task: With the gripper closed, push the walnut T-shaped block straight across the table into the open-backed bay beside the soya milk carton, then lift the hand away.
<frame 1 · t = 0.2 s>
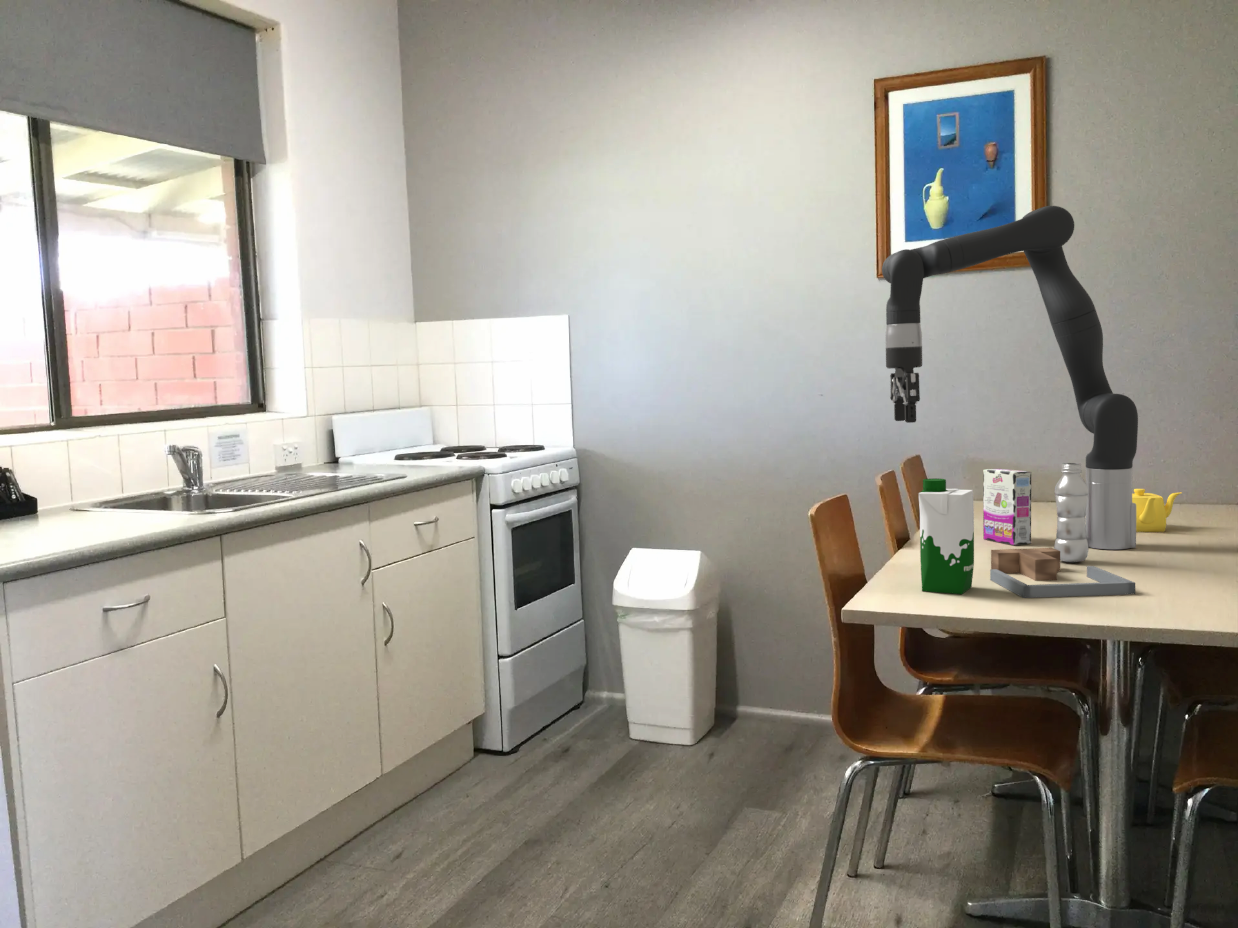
hand: (905, 421, 228), 29 cm above the table, fingers open, 8 cm apart
candy bar box: (1007, 542, 242), on the table
t block: (1033, 574, 204), on the table
plastic bottle: (1071, 562, 215), on the table
bay frame: (1057, 585, 193), on the table
soya milk: (947, 590, 193), on the table
teapot: (1138, 529, 254), on the table
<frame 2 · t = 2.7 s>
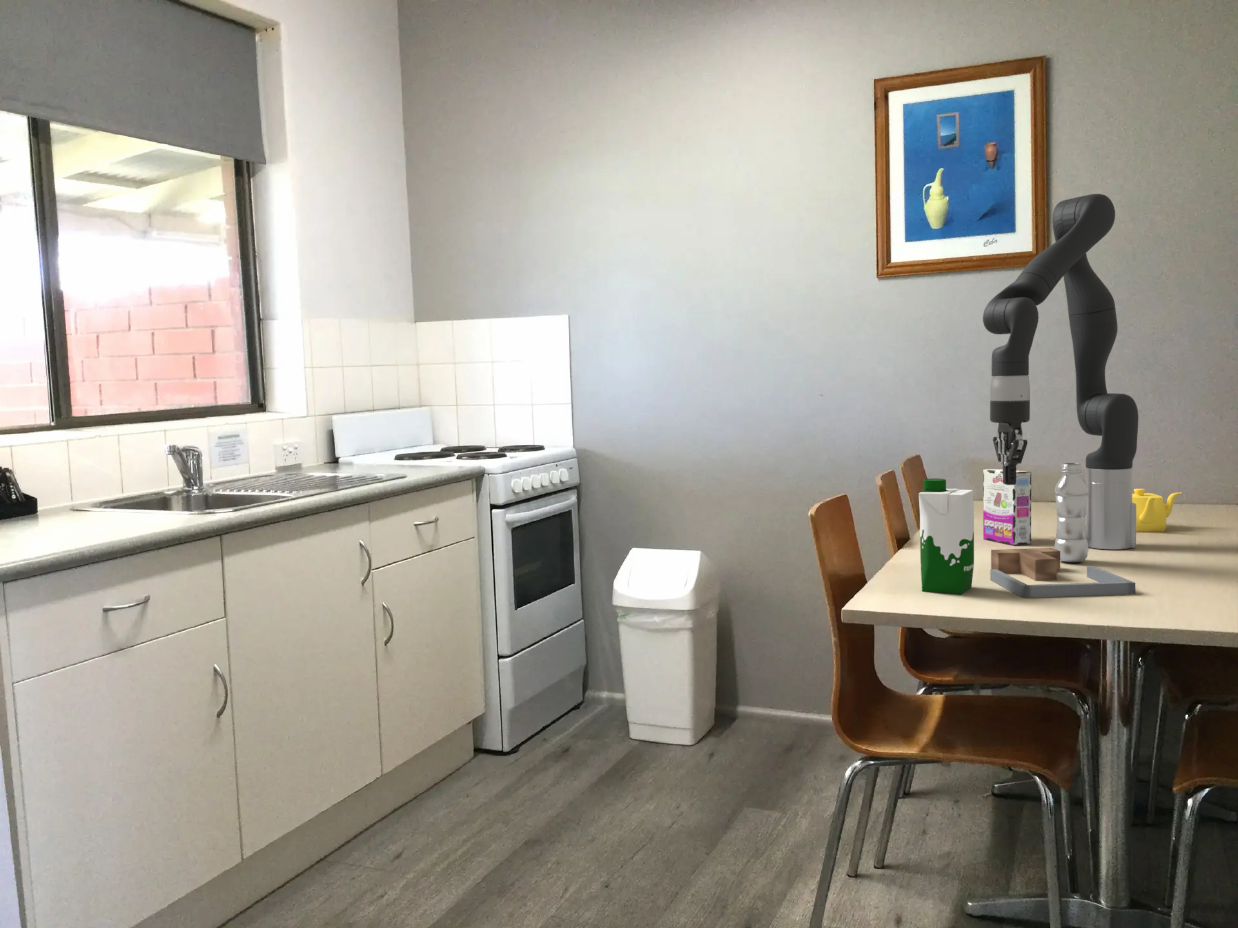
hand: (1009, 484, 214), 16 cm above the table, fingers closed
nothing on the table moved.
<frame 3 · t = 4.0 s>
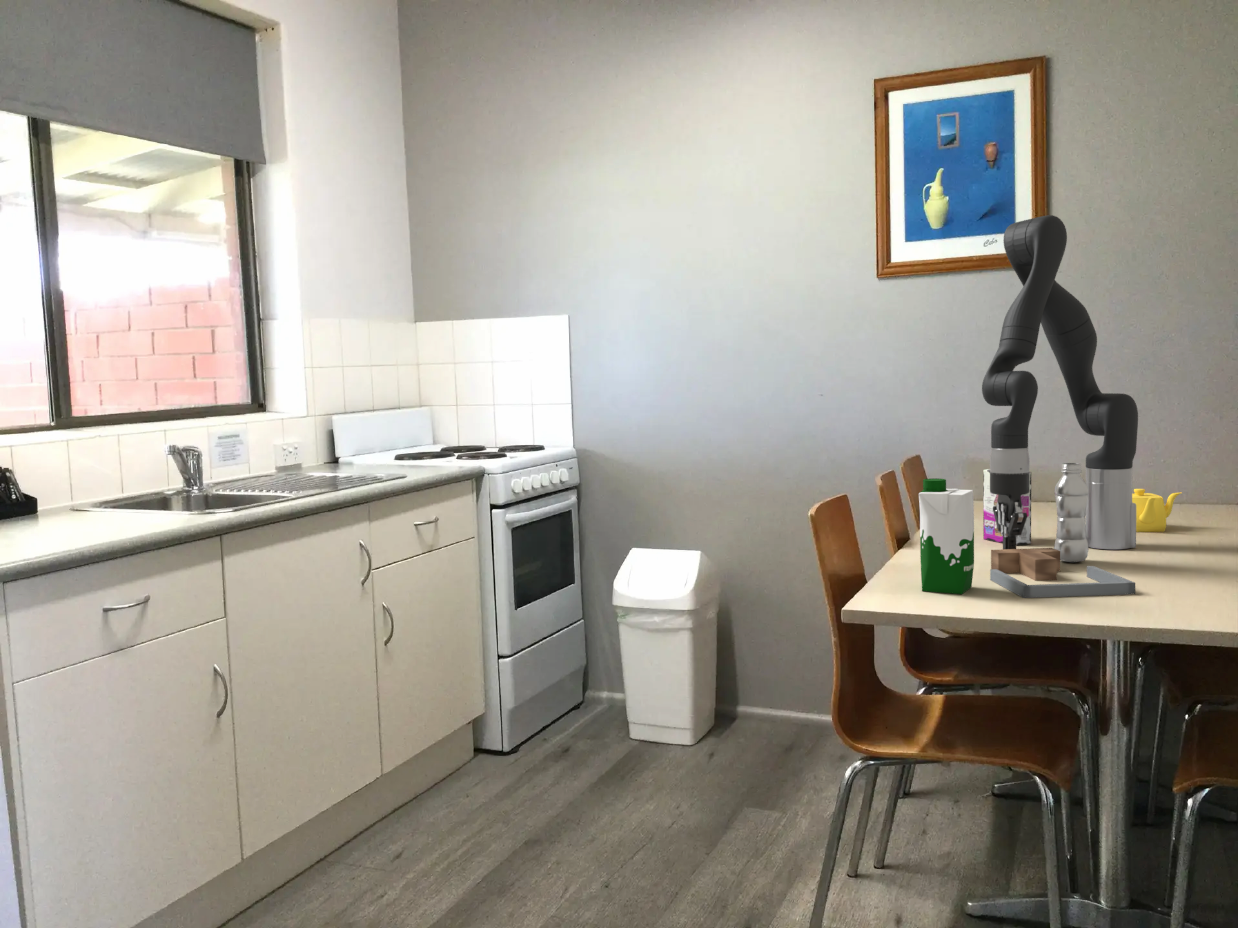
hand: (1009, 554, 216), 2 cm above the table, fingers closed
nothing on the table moved.
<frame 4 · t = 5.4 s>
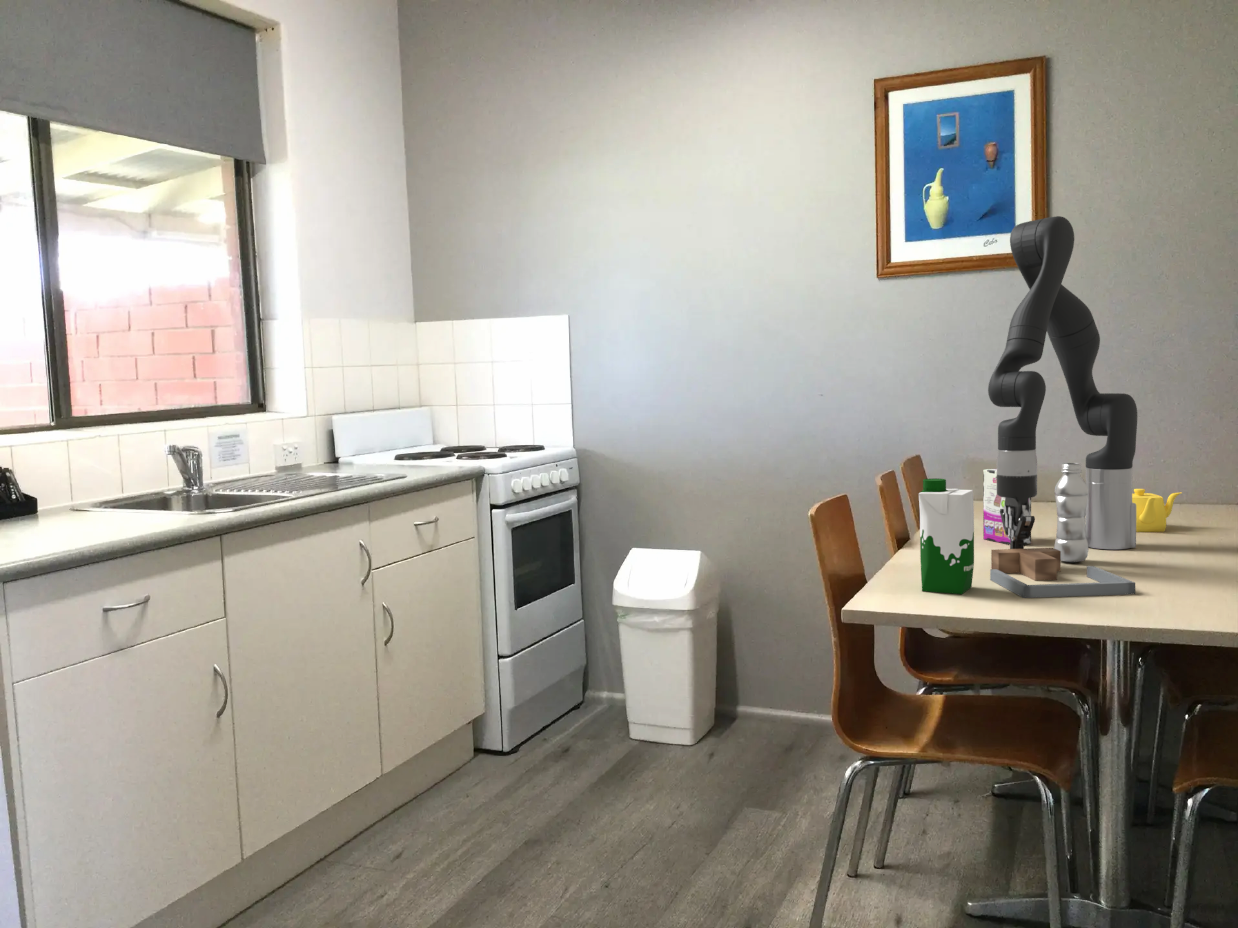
hand: (1016, 558, 212), 2 cm above the table, fingers closed
t block: (1033, 574, 204), on the table, touching gripper
everything else where it was.
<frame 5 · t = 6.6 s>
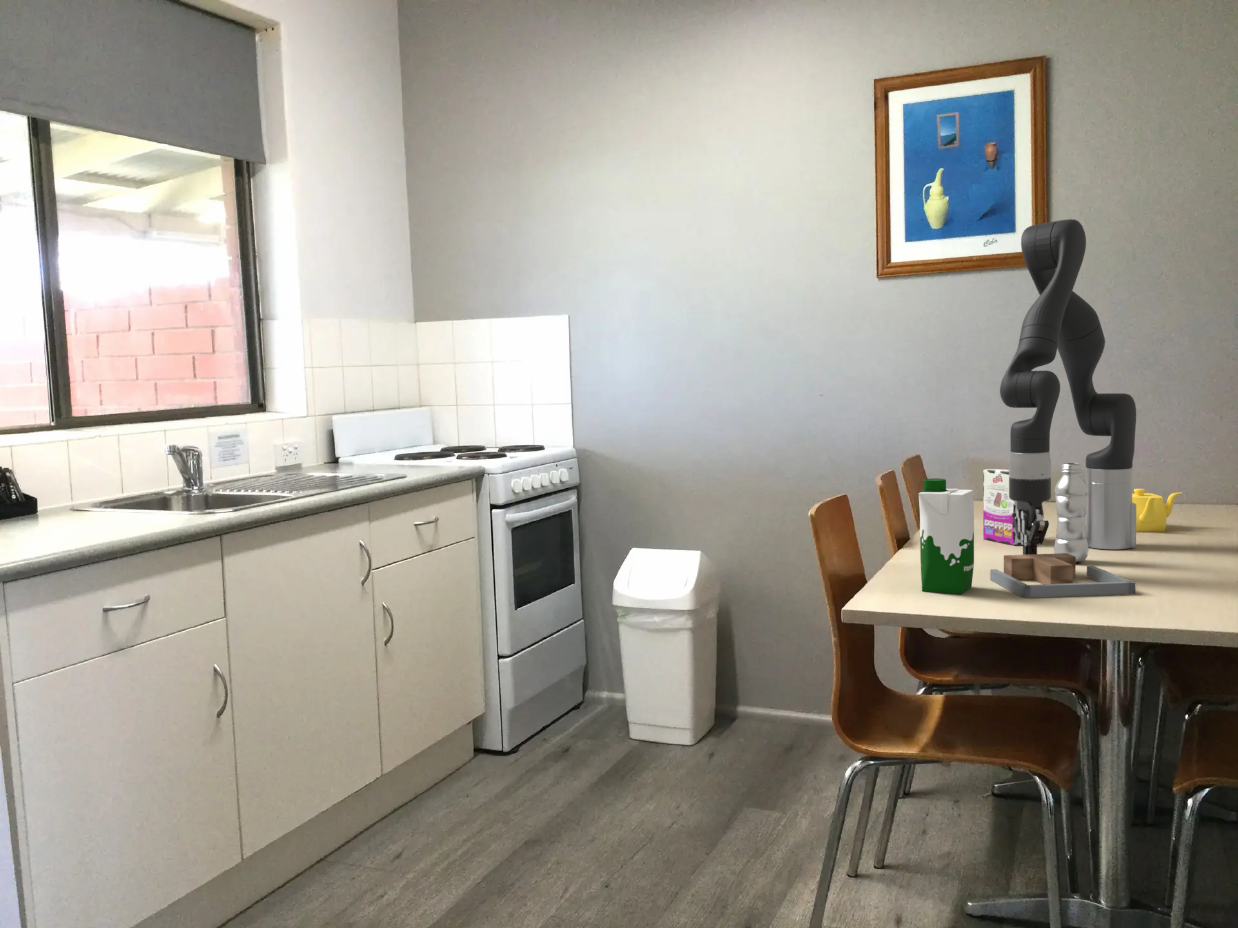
hand: (1029, 564, 205), 2 cm above the table, fingers closed
t block: (1047, 580, 197), on the table, touching gripper
everything else where it was.
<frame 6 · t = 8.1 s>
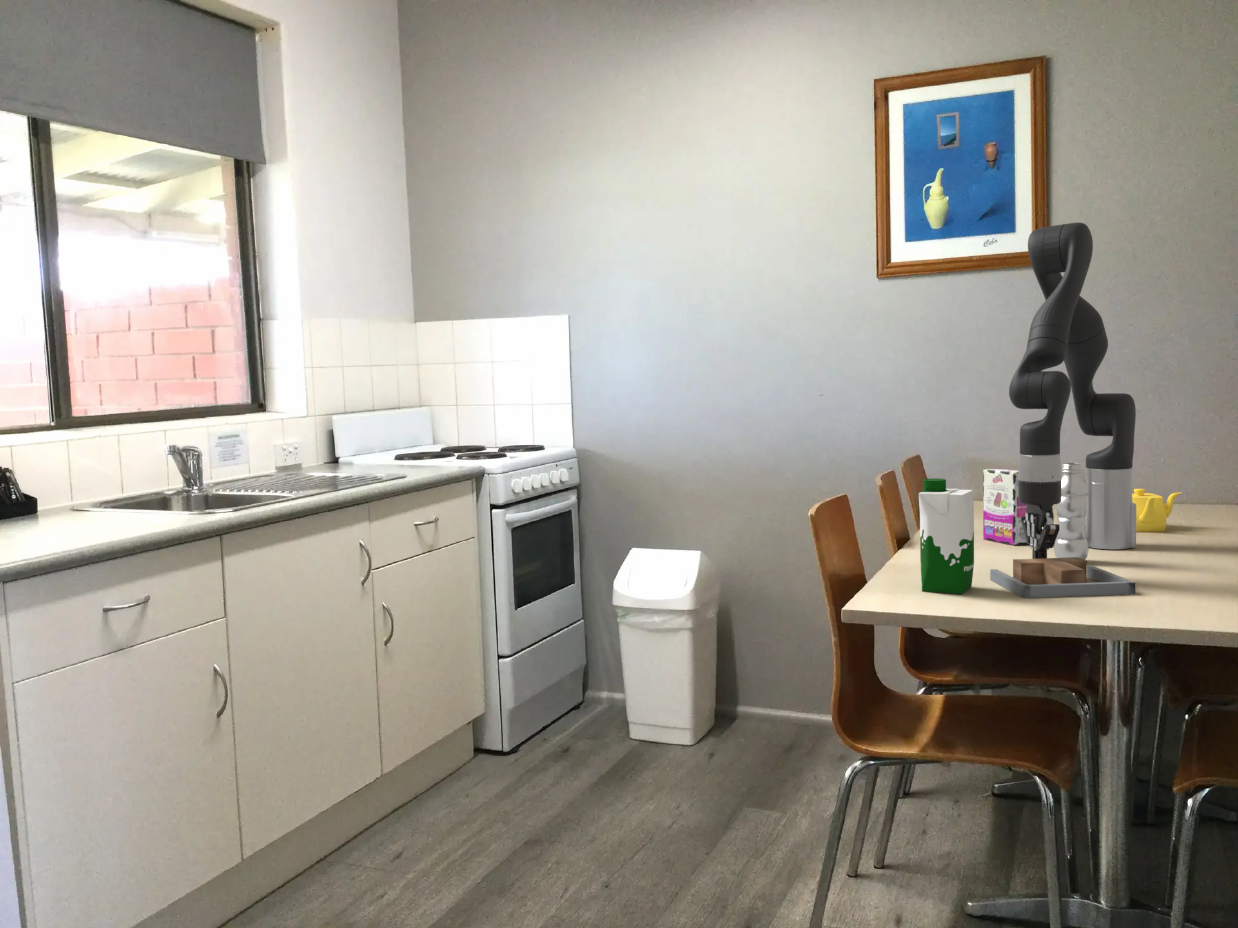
hand: (1039, 569, 201), 2 cm above the table, fingers closed
t block: (1058, 585, 193), on the table, touching gripper
everything else where it was.
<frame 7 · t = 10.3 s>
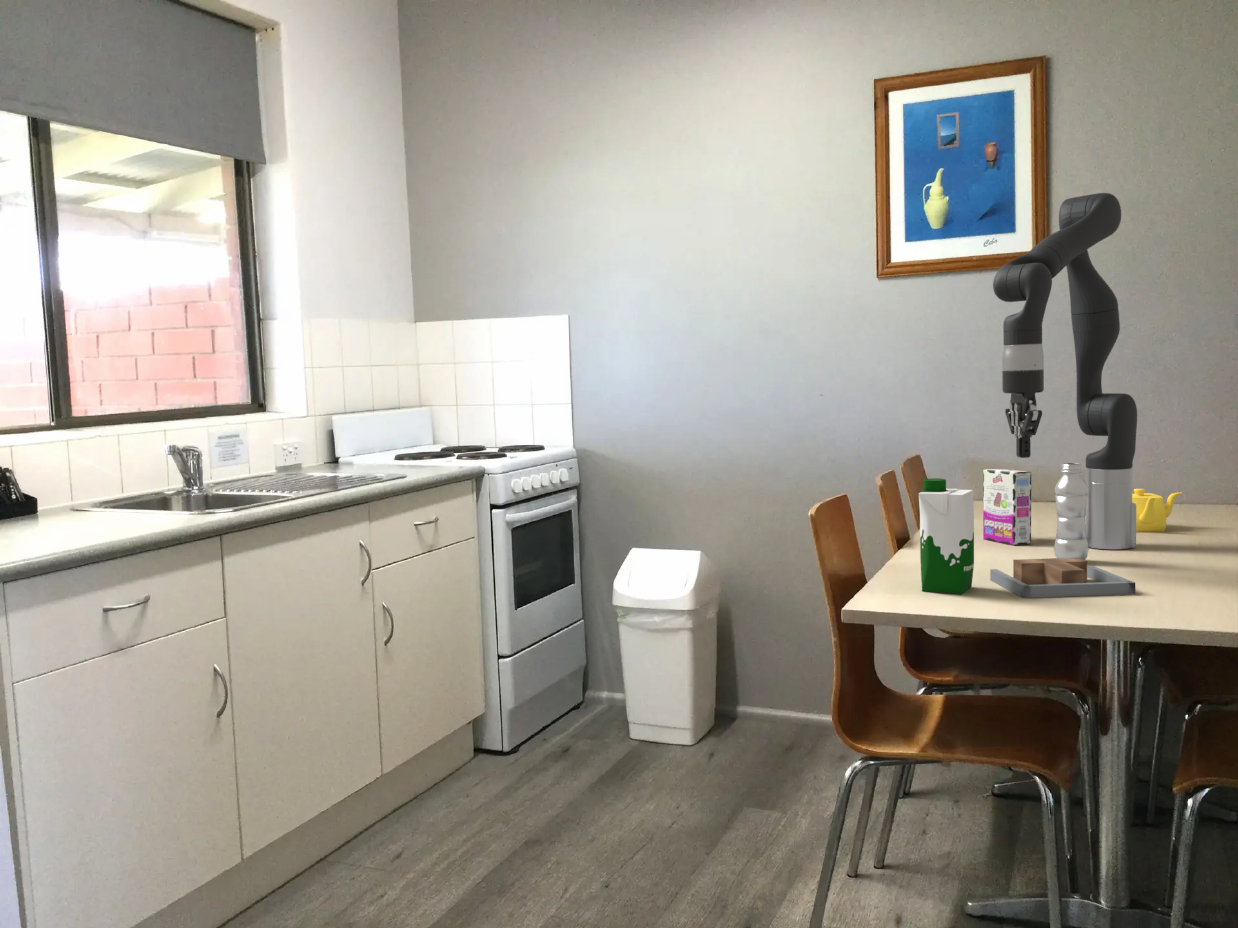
hand: (1023, 457, 207), 22 cm above the table, fingers closed
t block: (1058, 586, 193), on the table
everything else where it was.
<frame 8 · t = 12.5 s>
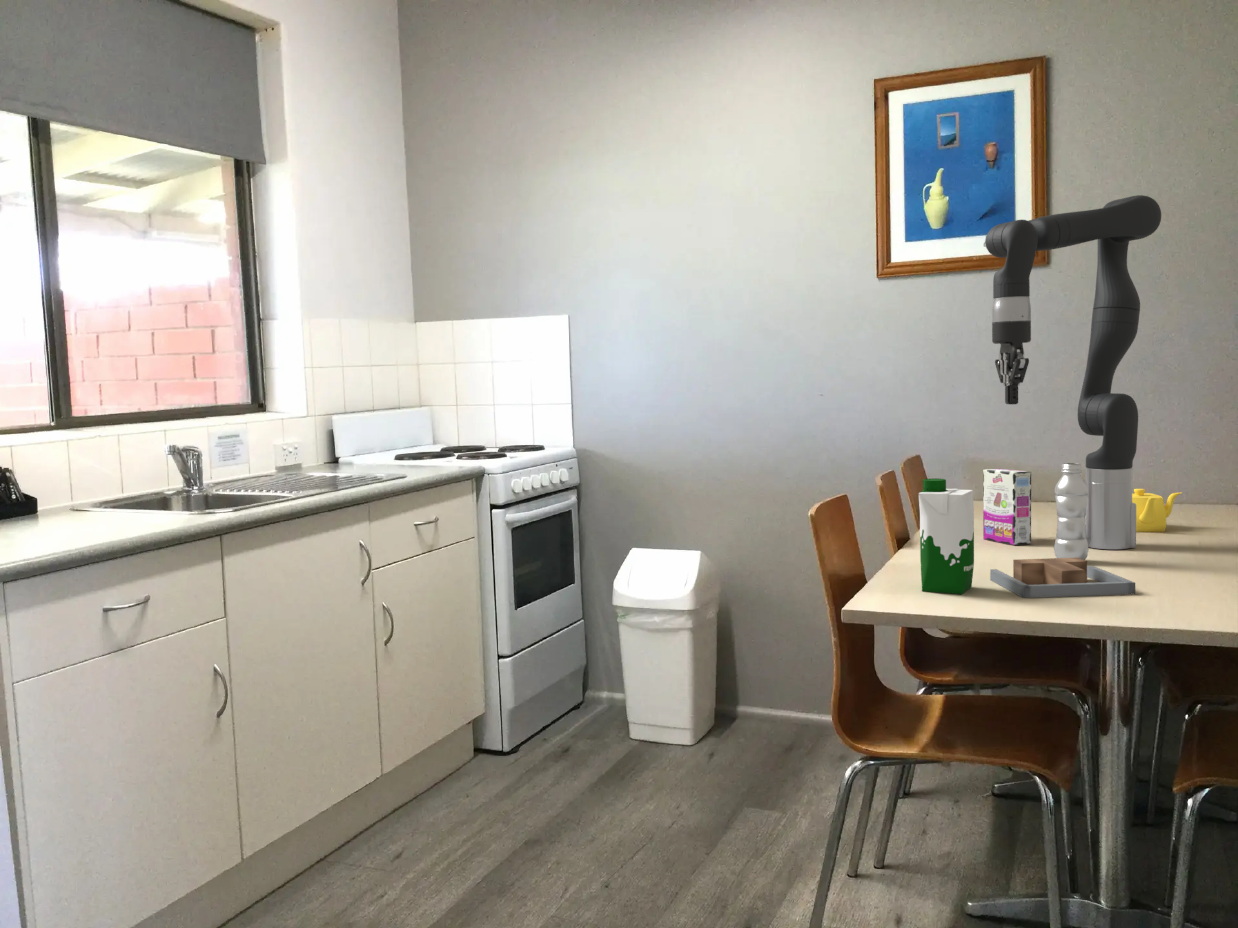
hand: (1011, 404, 220), 32 cm above the table, fingers closed
nothing on the table moved.
at the end: t block 0.6 cm off-centre on the bay frame, point 0.0 cm above the bay frame's base; t block tilted 0° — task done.
